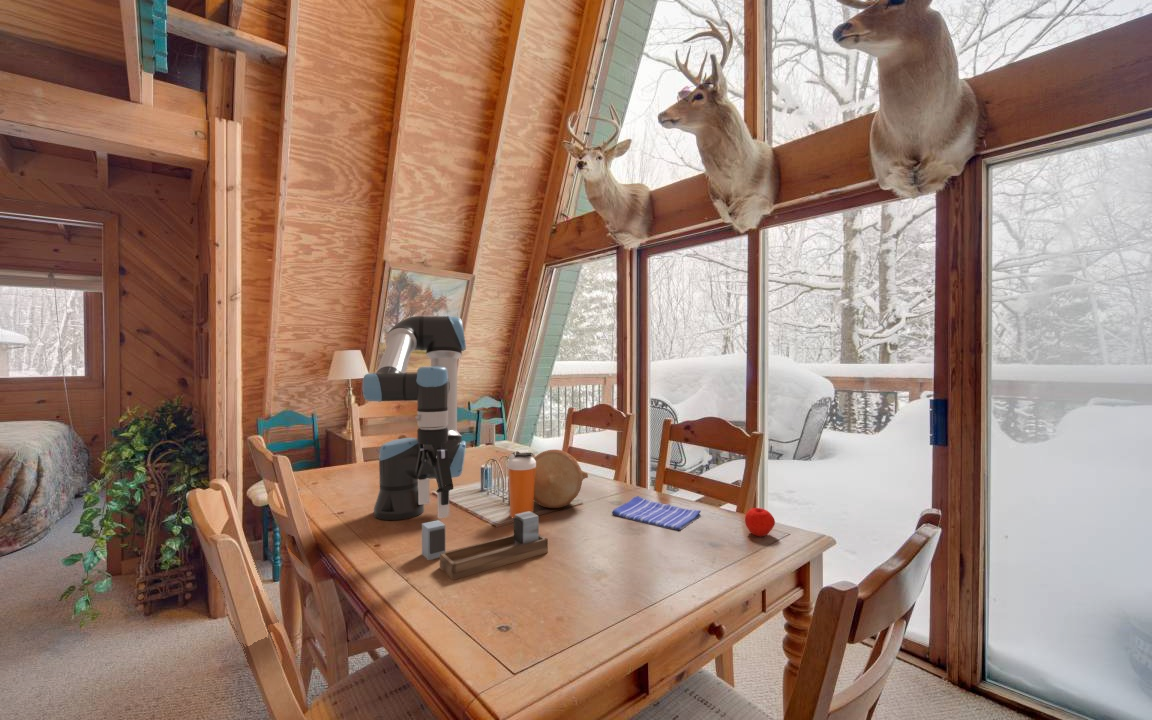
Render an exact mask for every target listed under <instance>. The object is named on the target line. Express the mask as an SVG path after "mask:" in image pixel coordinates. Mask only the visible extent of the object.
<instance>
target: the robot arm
mask: <svg viewBox="0 0 1152 720" xmlns="http://www.w3.org/2000/svg"><path fill="white" fill-rule="evenodd" d="M463 323H464V322H463V320H462V319H461V318H460V317H458V316H449V315H447V316H442V315H441V316H437V315H436V316H434V315H433V316H430V315H429V316H426V315H425V316H424V315H423V316H421V315H414V316H411V317H410V316H409V317H408V318H407V317H406V318H405V319H402V320H400V321H399V322H397V323H396V324H395V325H393V326H392V327H391V328H390V330H388V332H387V335H386V338H385V345H386V347H385V350H384V352H383V354H382V357H381V360H380V362H379V365H378V367H377V370H376V372H371V373H365V374H364V376H363V379H362V395H363V398H364V400H365V401H368V402H378V403H381V402H403V401H404V402H408V401H414V402H415V401H416V402H417V403H416V404H417V411H416V412H417V413H416V414H417V415H415V419H416V420H417V427H419V428H418V429H417V430H416V434H417V435H416V437H404V438H398V439H393V440H390V441H387V442H385V443H383V444H382V445H381V446H380V447H379V455H378V457H379V458H378V462H379V468H378V470H379V491H378V495H377V497H376V502H375V504H374V507H373V516H374V518H377V520H378V519H379V520H383V521H399V520H405V519H412V518H414V517H417V516H420V515H421V514H423V513H424V511H425V505H426V504H430V480H433V479H435V480H436V484H437V489H436V494H437V496H436V497H437V504H436V505H437V520H439V519H443V518H449V517H450V491H452V490H454V484H453V478H458V477H461V475H462V474H463V471H464V470H463V469H464V463H465V456H466V447H467V442H466V441H465V440H462V437H463V435H461V434H460V432H459V431H458V360H459V359H460V358H461V357H462V353H463V352H464V351H466V349H467V347H466V339H465V332H464V326H463V325H464V324H463ZM414 351H426V352H425V353H426V357H427V358H428V359H429V360H430V366H421V367H418V369H417V371H416V372H407V369H408V366H409V362H410V357H411V354H412V353H414Z"/></svg>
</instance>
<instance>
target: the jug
mask: <svg viewBox="0 0 1152 720" xmlns="http://www.w3.org/2000/svg"><path fill="white" fill-rule="evenodd" d="M533 458H534V459H535V461H536V468H535V483H534V502H535V503H536V504H539V505H540V506H541V507H544V508H548V509H558V508H559V509H560V508H563V507H566V506H568V505H569V504H571V502H573V501H574V500H575V499H576V498H577V497H578V495H579V493H580V492H581V489H582V483H583V481H584V480H585V479H588V477H589V475H588V474H589V473H588V472H585V471H583V470H582V468H581V466H580V464H579V463H578V460H577V459H576V458H575V457H574V456H573V455H571V454H570V453H569V452H567V451H565V450H562V449H549V450H547V449H546V450H545V451H542V452H540V453H539V452H538V454H537V455H536V456H533Z"/></svg>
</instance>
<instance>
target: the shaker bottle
mask: <svg viewBox="0 0 1152 720" xmlns="http://www.w3.org/2000/svg"><path fill="white" fill-rule="evenodd" d="M533 455H534V453H532V452H526V451H525V452H520V451H518V450H517V451H514V452H512V453H510V454H509V456H508V461H507V465H506V466H507V470H508V473H507V474H508V475H507V476H508V489H509V491H508V493H509V510H510V511H509V512H510V518H511V517H513V518H515V514H519V513H524V512H528V511H530V512H532V513H534V505H535V504H534V502H535V501H534V483H535V468H536V461H535V459H534V456H533ZM513 518H512V519H513Z"/></svg>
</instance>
